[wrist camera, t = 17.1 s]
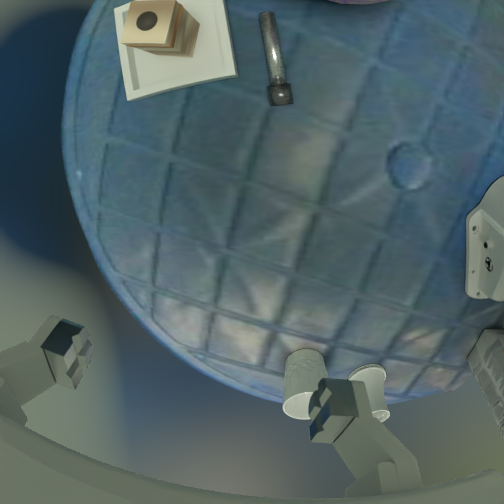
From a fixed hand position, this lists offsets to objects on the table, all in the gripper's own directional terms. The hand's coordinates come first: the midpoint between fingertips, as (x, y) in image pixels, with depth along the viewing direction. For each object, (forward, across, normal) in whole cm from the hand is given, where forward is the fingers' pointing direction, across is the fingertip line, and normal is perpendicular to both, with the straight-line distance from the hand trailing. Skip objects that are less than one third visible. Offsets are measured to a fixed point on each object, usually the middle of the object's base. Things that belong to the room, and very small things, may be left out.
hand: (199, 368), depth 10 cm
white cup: (+31, +16, -30) cm, 46 cm away
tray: (+31, -12, +15) cm, 36 cm away
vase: (+31, +29, -33) cm, 54 cm away
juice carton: (+31, +55, -22) cm, 67 cm away
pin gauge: (+31, 0, +15) cm, 34 cm away
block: (+30, -12, +15) cm, 35 cm away
